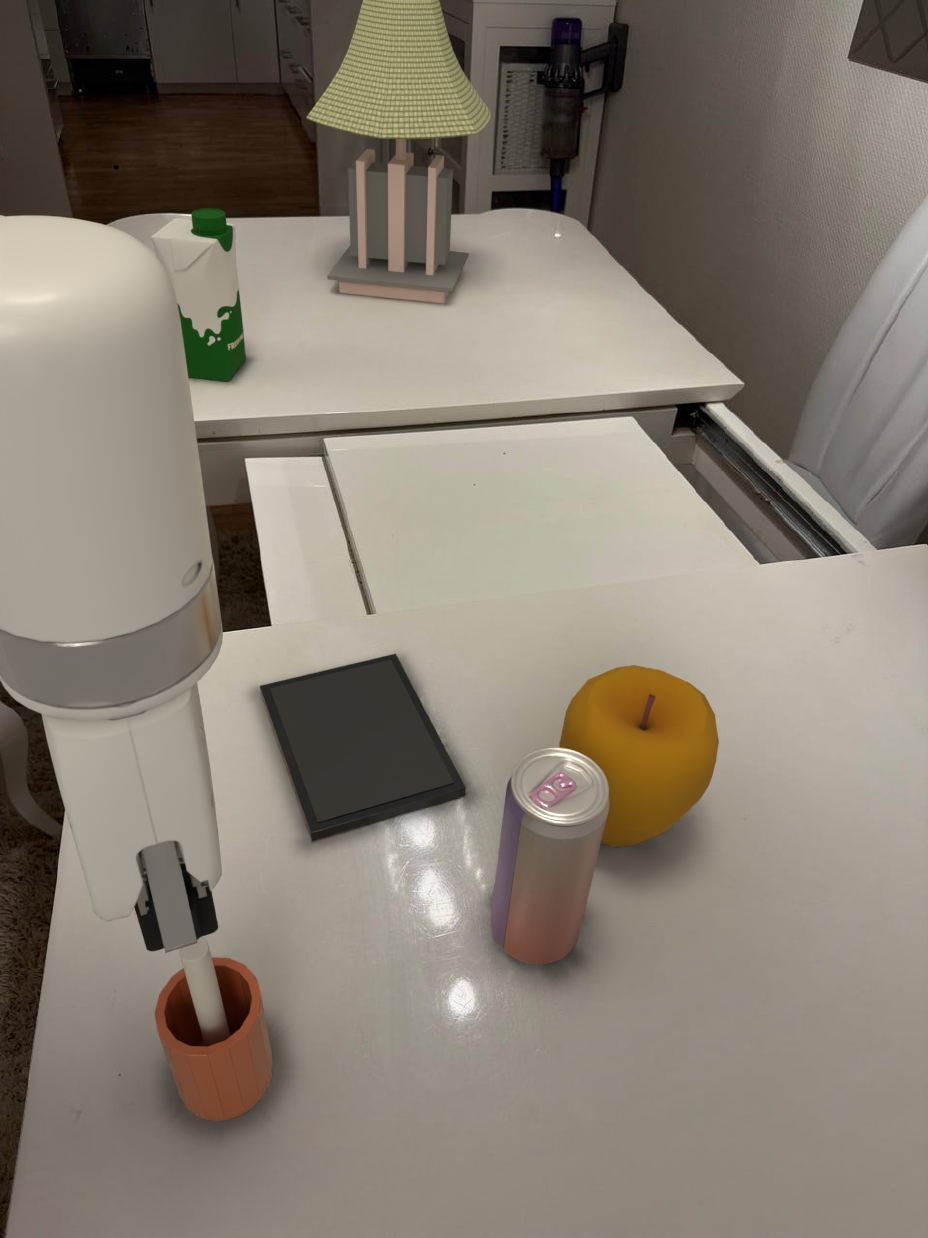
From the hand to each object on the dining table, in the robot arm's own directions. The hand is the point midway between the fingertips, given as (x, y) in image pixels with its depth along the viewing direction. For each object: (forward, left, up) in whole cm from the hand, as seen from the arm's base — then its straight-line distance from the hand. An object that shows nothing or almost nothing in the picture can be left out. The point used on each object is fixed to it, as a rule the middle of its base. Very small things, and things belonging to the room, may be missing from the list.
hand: (177, 911), depth 43 cm
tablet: (+15, +22, -17) cm, 31 cm away
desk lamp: (+52, +116, -17) cm, 128 cm away
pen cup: (0, 0, -17) cm, 17 cm away
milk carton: (+17, +93, -17) cm, 96 cm away
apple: (+31, +8, -17) cm, 36 cm away
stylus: (0, 0, -16) cm, 16 cm away
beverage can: (+21, +2, -17) cm, 27 cm away
